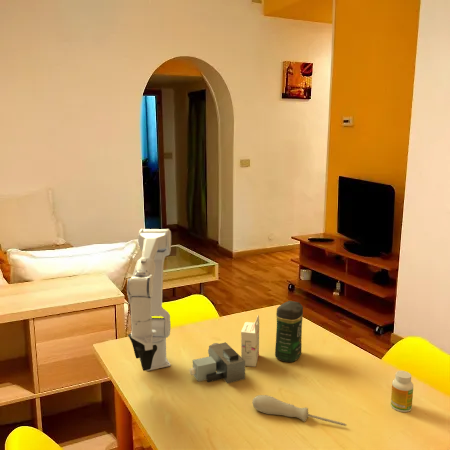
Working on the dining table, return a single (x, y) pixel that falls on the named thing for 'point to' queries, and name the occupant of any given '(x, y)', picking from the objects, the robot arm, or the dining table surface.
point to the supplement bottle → (402, 392)
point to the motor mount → (226, 363)
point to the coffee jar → (289, 331)
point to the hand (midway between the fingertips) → (143, 363)
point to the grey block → (203, 368)
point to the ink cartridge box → (250, 342)
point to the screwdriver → (284, 409)
